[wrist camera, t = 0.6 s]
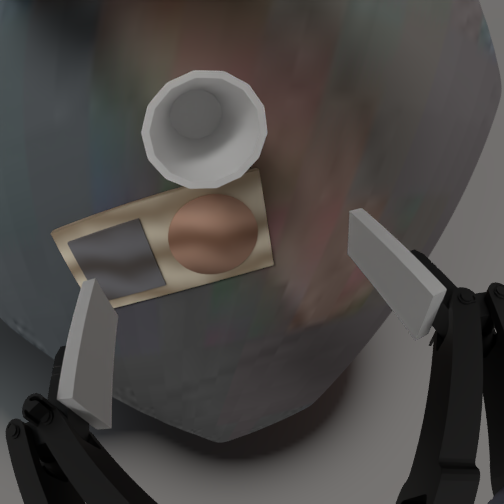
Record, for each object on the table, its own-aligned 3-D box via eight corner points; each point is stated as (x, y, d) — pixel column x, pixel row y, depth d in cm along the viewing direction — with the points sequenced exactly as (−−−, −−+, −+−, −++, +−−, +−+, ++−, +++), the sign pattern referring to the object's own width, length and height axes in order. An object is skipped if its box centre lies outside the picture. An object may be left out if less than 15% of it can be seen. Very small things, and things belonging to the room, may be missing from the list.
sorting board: (53, 230, 33) (49, 235, 32) (257, 167, 36) (260, 170, 35) (97, 308, 42) (96, 314, 41) (271, 261, 45) (274, 266, 44)
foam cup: (175, 164, 33) (174, 208, 23) (142, 98, 28) (120, 106, 17) (247, 131, 33) (283, 159, 23) (218, 63, 28) (242, 52, 17)
